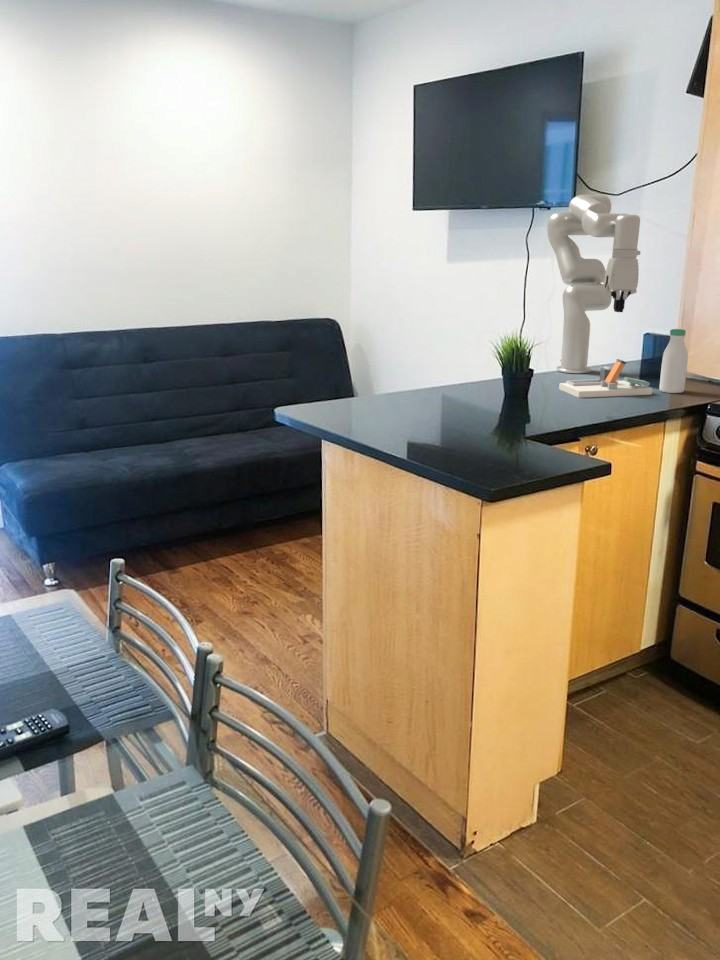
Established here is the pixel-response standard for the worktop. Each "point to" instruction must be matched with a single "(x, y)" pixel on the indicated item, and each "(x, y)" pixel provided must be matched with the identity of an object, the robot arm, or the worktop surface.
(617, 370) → the lever
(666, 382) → the milk bottle
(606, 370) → the slider
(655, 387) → the worktop surface
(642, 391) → the panel
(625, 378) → the rocker
